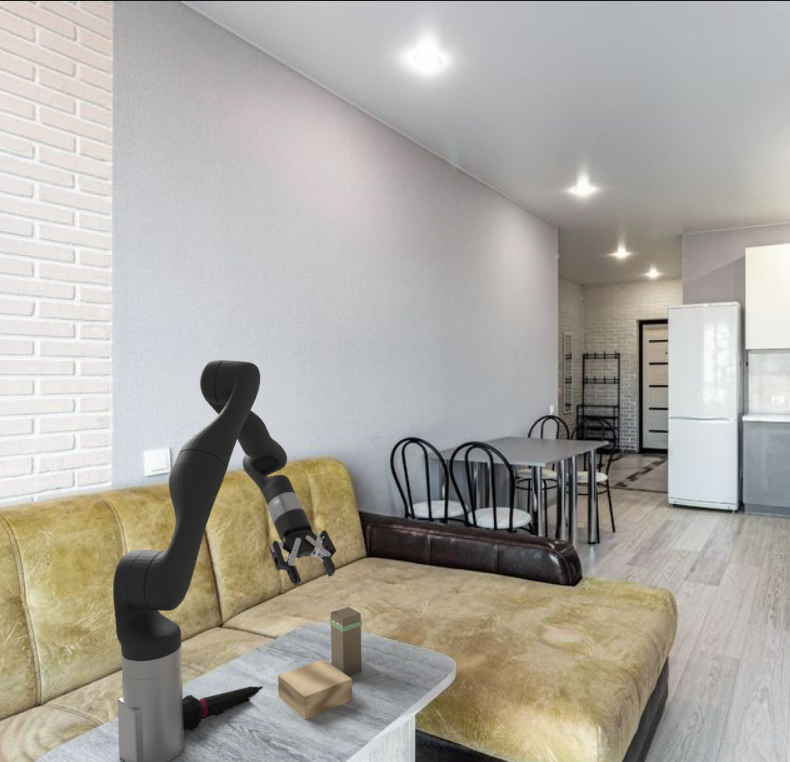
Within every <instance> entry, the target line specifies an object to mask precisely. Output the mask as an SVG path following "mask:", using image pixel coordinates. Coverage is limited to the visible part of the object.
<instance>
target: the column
mask: <svg viewBox="0 0 790 762" xmlns="http://www.w3.org/2000/svg"><path fill="white" fill-rule="evenodd" d="M329 625H330V641H331V643H330V644H331V646H330V649H331V651H330V652H331V657H330V658H331V663H332V665H333V666H334V667H335V668H337V669H338V670H340V671H341V672H343V673H344V674H346V675H347V676H348V677H349V676H352V675H355V674H357V673H360V672H362V661H363V660H362V626H363V620H362V614H361V612H360V611H357V610H355V609H354V608H351V607H350V606H347V607H344V608H341V609H340V608H339V609H337V610H334V611H332V612H331V611H330V619H329Z"/></svg>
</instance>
